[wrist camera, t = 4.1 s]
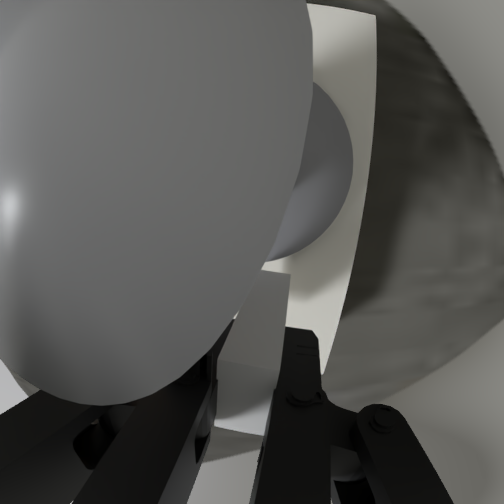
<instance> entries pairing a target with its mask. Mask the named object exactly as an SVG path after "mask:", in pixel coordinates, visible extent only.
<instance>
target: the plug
mask: <svg viewBox="0 0 504 504" xmlns="http://www.w3.org/2000/svg"><path fill="white" fill-rule="evenodd" d="M352 175H353V149H352V143H351V138H350V134H349V131H348V128H347V125H346V123H345V120H344V118H343V116H342V114H341V113H340V111H339V109H338V107H337V106H336V105H335V103H334V102H333V101H332V99H331V98H330V97H329V95H328V94H327V93H326V92H325V91H324V90H323V89H322V88H321V87H320V86H318V85H317V84H316V83H315V82H313V31H312V26H311V21H310V17H309V12H308V8H307V3H306V0H0V359H1V360H2V361H3V362H4V363H5V364H6V365H7V366H8V367H10V368H11V369H12V370H13V371H14V372H16V373H17V374H18V375H19V376H21V377H22V378H23V379H25V380H26V381H28V382H29V383H31V384H33V385H34V386H36V387H37V388H39V389H41V390H43V391H45V392H47V393H49V394H52V395H54V396H56V397H58V398H61V399H65V400H68V401H72V402H76V403H79V404H88V405H99V406H104V405H114V404H123V403H128V402H131V401H134V400H137V399H140V398H143V397H146V396H149V395H151V394H153V393H155V392H157V391H158V390H160V389H162V388H163V387H165V386H167V385H168V384H170V383H172V382H173V381H175V380H176V379H178V378H180V377H181V376H182V375H183V374H184V373H185V372H186V371H187V370H188V369H190V368H191V367H192V366H193V365H194V364H195V363H196V362H197V361H198V360H199V359H200V358H201V357H202V356H203V355H204V354H206V353H207V352H208V351H209V350H210V349H211V348H212V346H213V345H214V344H215V342H216V341H217V339H218V338H219V337H220V335H221V334H222V333H223V331H224V330H225V329H226V327H227V326H228V325H229V323H230V322H231V321H232V319H233V318H234V316H235V315H236V314H237V312H238V311H239V310H240V308H241V307H242V305H243V304H244V302H245V300H246V298H247V296H248V294H249V292H250V290H251V288H252V287H253V285H254V283H255V281H256V279H257V277H258V275H259V273H260V271H261V269H262V267H263V265H264V263H265V262H269V261H274V260H278V259H281V258H284V257H287V256H289V255H292V254H294V253H296V252H298V251H300V250H302V249H303V248H305V247H306V246H308V245H310V244H311V243H312V242H314V241H315V240H316V239H317V238H318V237H320V236H321V235H322V234H323V233H324V232H325V231H326V230H327V228H328V227H329V226H330V225H331V224H332V222H333V221H334V220H335V218H336V217H337V215H338V214H339V212H340V210H341V208H342V206H343V204H344V202H345V200H346V197H347V195H348V192H349V189H350V185H351V180H352Z"/></svg>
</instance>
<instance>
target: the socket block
mask: <svg viewBox="0 0 504 504" xmlns="http://www.w3.org/2000/svg"><path fill="white" fill-rule="evenodd" d="M307 8H308V12H309V17H310V21H311V26H312V31H313V82H315V83H316V84H317V85H318V86H320V87H321V88H322V89H323V90H324V91H325V92H326V93H327V94H328V95H329V97H330V98H331V99H332V101H333V102H334V103H335V105H336V106H337V107H338V109H339V111H340V113H341V114H342V116H343V118H344V120H345V123H346V125H347V128H348V131H349V134H350V138H351V143H352V149H353V175H352V180H351V185H350V189H349V192H348V195H347V197H346V200H345V202H344V204H343V206H342V208H341V210H340V212H339V214H338V215H337V217H336V218H335V220H334V221H333V222H332V224H331V225H330V226H329V227H328V228H327V230H326V231H325V232H324V233H323V234H322V235H321V236H320V237H318V238H317V239H316V240H315V241H314V242H312V243H311V244H310V245H308V246H306V247H305V248H303V249H302V250H300V251H298V252H296V253H294V254H292V255H289V256H287V257H284V258H281V259H278V260H274V261H269V262H265V263H264V265H263V267H262V269H261V270H266V271H273V272H280V273H286V274H291V277H290V287H289V297H288V306H287V316H286V325H285V326H287V327H293V328H300V329H308V330H312V331H313V332H314V333H315V335H316V336H317V337H318V339H319V353H320V357H319V358H320V368H321V374H323V373H324V370H325V366H326V363H327V360H328V357H329V354H330V351H331V347H332V344H333V340H334V337H335V334H336V330H337V327H338V323H339V319H340V316H341V312H342V308H343V304H344V300H345V296H346V292H347V288H348V284H349V280H350V275H351V271H352V266H353V262H354V257H355V252H356V247H357V242H358V237H359V232H360V226H361V221H362V215H363V209H364V203H365V196H366V190H367V183H368V175H369V167H370V159H371V150H372V140H373V129H374V116H375V99H376V72H377V39H376V16H375V15H371V14H367V13H363V12H358V11H353V10H348V9H343V8H337V7H331V6H324V5H317V4H308V3H307ZM238 312H239V311H238ZM238 312H237V314H238ZM237 314H236V315H235V316H234V318H233V319H235V318H236V316H237Z"/></svg>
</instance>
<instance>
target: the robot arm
mask: <svg viewBox="0 0 504 504" xmlns="http://www.w3.org/2000/svg"><path fill="white" fill-rule="evenodd" d="M290 277H291V274H286V273H280V272H273V271H266V270H261V271H260V273H259V275H258V277H257V279H256V281H255V283H254V285H253V287H252V288H251V290H250V292H249V294H248V296H247V298H246V300H245V302H244V304H243V305H242V307H241V308H240V310H239V312H238V314H237V316H236V318H235V319H232V321H231V322H230V323H229V325H228V326H227V327H226V329H225V330H224V331H223V333H222V334H221V335H220V337H219V338H218V339H217V341H216V342H215V344H214V345H213V346H212V348H211V349H210V350H209V351H208V352H207V353H206V354H204V355H203V356H202V357H201V358H200V359H199V360H198V361H197V362H196V363H195V364H194V365H193V366H192V367H191V368H190V369H188V370H187V371H186V372H185V373H184V374H183V375H182V376H181V377H180V378H178V379H176V380H175V381H173V382H172V383H170V384H168V385H167V386H165V387H163V388H162V389H160V390H158V391H157V392H155V393H153V394H151V395H149V396H146V397H143V398H140V399H137V400H134V401H131V402H128V403H123V404H114V405H104V406H99V405H88V404H79V403H76V402H72V401H68V400H65V399H61V398H58V397H56V396H54V395H52V394H49V393H47V392H45V391H43V390H39V391H38V392H36V393H35V394H33V395H31V396H30V397H28V398H27V399H25V400H23V401H22V402H20V403H19V404H17V405H15V406H14V407H12V408H10V409H9V410H7V411H6V412H4V413H2V414H1V415H0V504H70V503H71V502H72V501H73V500H74V501H73V503H72V504H187V501H188V499H189V496H190V493H191V490H192V488H193V485H194V483H195V480H196V477H197V475H198V472H199V469H200V466H201V464H202V461H203V458H204V456H205V453H206V450H207V447H208V444H209V442H210V435H211V427H212V424H213V422H214V419H215V426H217V427H221V428H226V429H231V430H235V431H240V432H246V433H251V434H257V435H263V436H264V437H263V442H262V446H261V450H260V454H259V457H258V461H257V462H258V465H257V470H256V475H255V479H254V484H253V489H252V493H251V498H250V503H249V504H331V499H332V503H333V504H454V503H453V501H452V499H451V498H450V496H449V494H448V492H447V490H446V488H445V487H444V485H443V483H442V481H441V479H440V478H439V476H438V474H437V472H436V470H435V469H434V467H433V465H432V463H431V462H430V460H429V458H428V456H427V455H426V453H425V451H424V450H423V448H422V446H421V444H420V443H419V441H418V439H417V438H416V436H415V434H414V433H413V431H412V429H411V428H410V426H409V425H408V423H407V421H406V419H405V418H404V417H403V415H402V414H401V413H400V412H399V411H398V410H396V409H394V408H393V407H391V406H387V405H383V404H372V405H369V406H366V407H364V408H363V409H362V410H361V411H360V412H359V413H356V412H353V411H350V410H346V409H343V408H341V407H338V406H336V405H335V404H333V403H332V402H330V401H329V400H328V398H327V395H326V393H325V392H324V391H323V390H322V387H321V368H320V358H319V357H320V353H319V339H318V337H317V336H316V335H315V333H314V332H313V331H312V330H308V329H300V328H293V327H287V326H285V325H286V316H287V306H288V297H289V287H290Z"/></svg>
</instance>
